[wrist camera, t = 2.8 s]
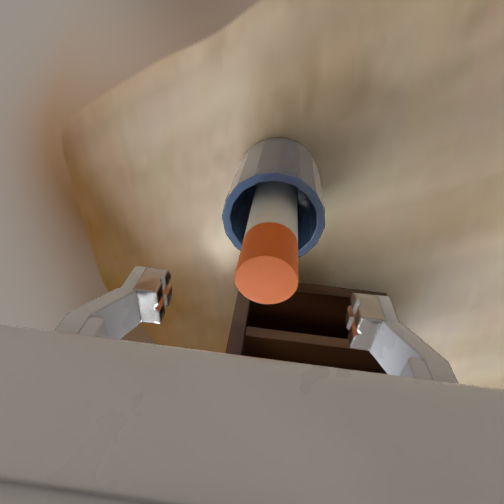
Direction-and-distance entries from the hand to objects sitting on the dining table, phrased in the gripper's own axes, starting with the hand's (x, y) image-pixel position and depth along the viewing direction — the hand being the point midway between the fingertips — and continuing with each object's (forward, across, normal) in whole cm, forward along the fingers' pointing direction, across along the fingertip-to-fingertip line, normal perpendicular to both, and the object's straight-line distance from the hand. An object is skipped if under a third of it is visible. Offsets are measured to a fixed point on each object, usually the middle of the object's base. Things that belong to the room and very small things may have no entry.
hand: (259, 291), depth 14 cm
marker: (+13, 0, 0) cm, 13 cm away
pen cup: (+13, 0, 0) cm, 13 cm away
